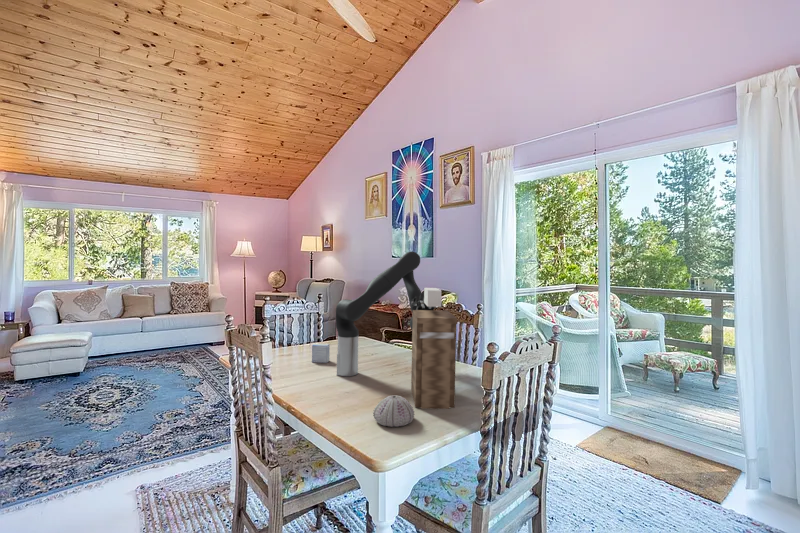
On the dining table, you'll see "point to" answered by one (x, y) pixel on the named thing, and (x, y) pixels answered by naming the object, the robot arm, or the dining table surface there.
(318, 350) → the medicine box
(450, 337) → the shelf unit
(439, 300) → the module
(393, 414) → the sea urchin shell
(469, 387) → the dining table surface
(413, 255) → the robot arm
